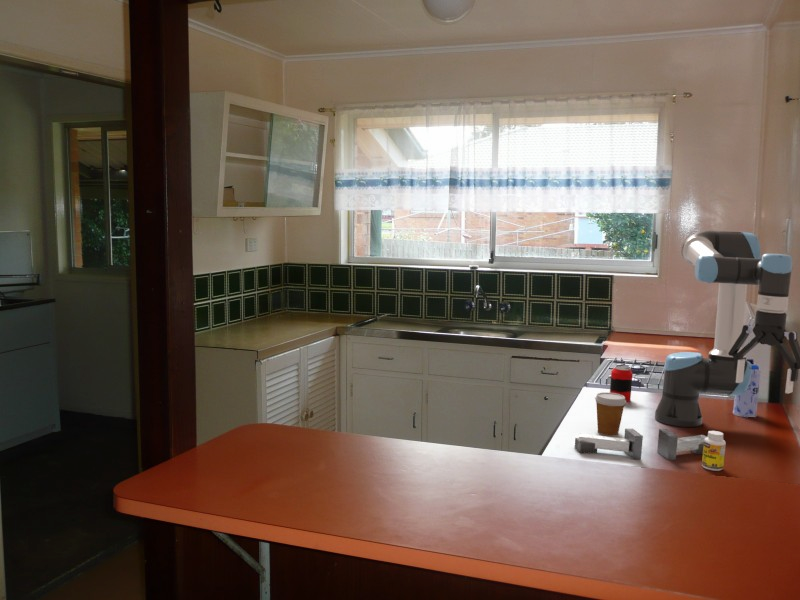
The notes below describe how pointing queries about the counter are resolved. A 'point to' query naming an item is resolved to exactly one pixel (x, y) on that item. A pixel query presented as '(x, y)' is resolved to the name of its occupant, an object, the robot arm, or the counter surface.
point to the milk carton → (748, 395)
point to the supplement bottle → (713, 451)
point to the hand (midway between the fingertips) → (763, 387)
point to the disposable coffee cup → (609, 412)
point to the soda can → (621, 382)
